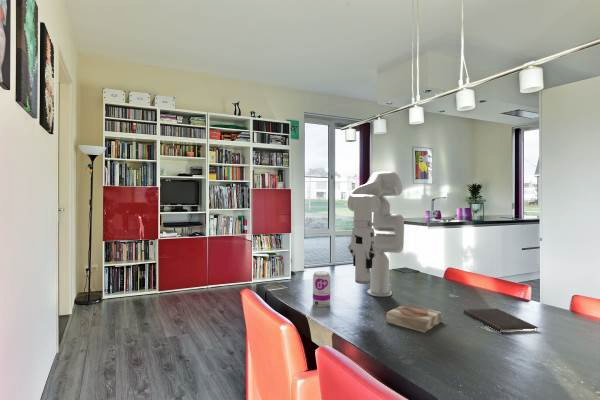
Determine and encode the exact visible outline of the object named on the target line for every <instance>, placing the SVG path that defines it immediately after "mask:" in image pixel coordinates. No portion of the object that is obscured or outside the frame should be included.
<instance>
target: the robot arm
mask: <svg viewBox="0 0 600 400" xmlns="http://www.w3.org/2000/svg"><path fill="white" fill-rule="evenodd" d="M402 192H403V184H402V180H401V179H400V177H399V175H398V174H397V173H396V172H395V171H376V172H373V173H371V174H370V175H369V178H368V179H367V181H366V183H365V184H362V185H360V186H358V187H355V188H354V189H353V190H351V192H350V194H349V196H348V198H347V203H346V204H347V208H348V209H349V211H351V212H353V227H352V230H351V237H350V239H351V241H350V243H349V245H348V246H347V249H348V250H349V252H350V254H351V257H352V261H353V262H352V263H353V264H352V266H353V267H355V245H356V244H355V243H356V237H355V235H357V236H358V237H362V243H363V245H362V246H363V249H364V252H366V255H367V258H368V259H366V268H367V269H369V268H370V283H369V284H370V288H369V289H367V291H366V292H367V294H368V295H369V296H373V297H379V298H380V297H381V298H385V297H391V296H392V295H393V292H392V291H391V290H390V289H391V288H392V287H393V285H392V283H390V261H389V257H388V256H387V255H386V253H393V254H394V253H395V254H400V253H402V251H403V250H404V241H405V239H404V237H405V219H404V216H403V215H401V214H399V213H391V204H390V202H389V201H388V199H387V198H386V197H395V196H396V197H398V196H400V195H401V194H402ZM375 231H377V232H385V233H375ZM386 232H390V233H386ZM369 253H370V255H369Z"/></svg>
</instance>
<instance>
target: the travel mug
mask: <svg viewBox="0 0 600 400" xmlns="http://www.w3.org/2000/svg"><path fill="white" fill-rule="evenodd" d="M355 237H356V243H355V244H356V245H355V266H354V267H355V268H354V269H355V270H354V271H355V272H354V273H355V274H354V276H355V278H354V279H355V280H354V282H355V283H356V284H361V285H367V284H370V271H371V268H369V269H367V268H366V259H368V258H367V255H366V252H364V249H363V246H362V245H363V243H362V237H358V236H357V235H355ZM369 255H370V253H369Z"/></svg>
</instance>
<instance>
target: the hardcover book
mask: <svg viewBox="0 0 600 400" xmlns="http://www.w3.org/2000/svg"><path fill="white" fill-rule="evenodd" d="M463 314H464V315H465V314H467V315H468V316H467V315H466V316H467V317H469V316H470V317H469V318H471V317H472V318H474V319H476V320H478V321H480V322H482V323H483V324H485V325H487V326H489V327H491V328H493V329H495V330H497V331H499V332H500V331H510V330H523V329H535V328H536V329H538V328H539V327H538V326H537V325H534V324H531V323H530V322H528V321H526V320H523V319H521V318H519V317H516V316H514V315H512V314H511V313H508V312H505V311H503V310H501V309H499V308H471V309H469V308H468V309H464V310H463ZM472 318H471V319H472ZM474 319H473V320H474ZM476 320H475V321H476ZM478 321H477V322H478ZM480 322H479V323H480ZM483 324H482V325H483ZM485 325H484V326H485ZM487 326H486V327H487ZM489 327H488V328H489ZM491 328H490V329H491Z"/></svg>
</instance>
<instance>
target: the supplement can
mask: <svg viewBox="0 0 600 400" xmlns="http://www.w3.org/2000/svg"><path fill="white" fill-rule="evenodd" d="M312 304H313V305H314V306H315V307H319V308H325V307H326V308H327V307H329V306H330V305H331V275H330V272H328V271H315V272H314V273H313V275H312Z"/></svg>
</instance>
